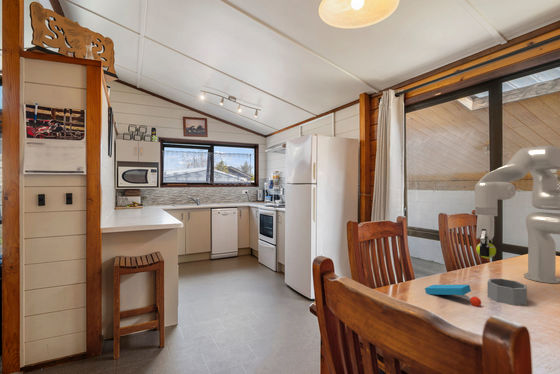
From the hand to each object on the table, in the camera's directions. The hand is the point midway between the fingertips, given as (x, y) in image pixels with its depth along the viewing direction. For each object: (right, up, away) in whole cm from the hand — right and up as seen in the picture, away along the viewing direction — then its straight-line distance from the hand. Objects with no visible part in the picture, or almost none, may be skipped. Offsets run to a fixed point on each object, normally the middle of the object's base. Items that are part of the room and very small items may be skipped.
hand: (486, 254), depth 118 cm
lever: (-18, -16, -7) cm, 25 cm away
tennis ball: (0, -2, 0) cm, 2 cm away
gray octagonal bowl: (+2, -16, -8) cm, 18 cm away
